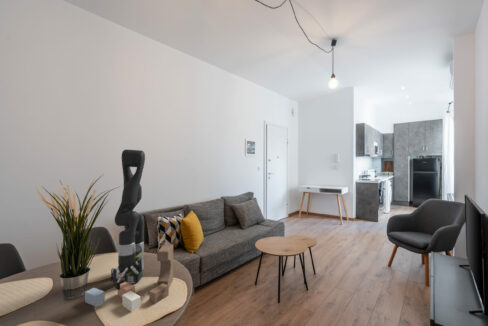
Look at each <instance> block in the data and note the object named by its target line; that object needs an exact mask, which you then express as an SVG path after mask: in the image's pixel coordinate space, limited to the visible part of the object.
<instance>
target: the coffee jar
mask: <svg viewBox="0 0 488 326" xmlns="http://www.w3.org/2000/svg"><path fill="white" fill-rule="evenodd" d="M135 248H136V250H135V261H136V260H137V259H139V260H141V264H142V247H141V246H140V245H135ZM134 268H135V269H136V270H137V264H136V265H135V266H134ZM133 274H134V273H133V272H132V271H131V272H130V273H127V274H124V282H127V283H129V284H131V285H133V284H137V283H139V281H141V279H142V278H143V271H141V272H139V273H138V280H137V282H134V281H133Z"/></svg>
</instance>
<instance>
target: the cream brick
mask: <svg viewBox="0 0 488 326" xmlns="http://www.w3.org/2000/svg"><path fill="white" fill-rule="evenodd" d="M121 299H122V303H121V304H122V305H123V306H122V305H121V306H122V307H124V308H125V309H126V310H128V311H130V312H131V313H133V312H135V311H137V310H138V309H140V308H141V305H142V303H141V296H140V295H139V294H137V293H136V292H135V293H134V292H132V291H130V292H127V293H125V294H123V295H122V297H121Z"/></svg>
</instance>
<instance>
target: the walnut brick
mask: <svg viewBox="0 0 488 326" xmlns="http://www.w3.org/2000/svg"><path fill="white" fill-rule="evenodd" d="M169 288H170V287H169V285H166V284H164V283H163V284H161V285H159V286H157V285H156V287H154V288H152V289H151V290H149V293H148V297H149V301H148V302H150V303H152V304H154V305H156V304H158V303H159V302H160V301H162V300H164V299H165V298H167V297H168V296H169V295H170V294H169V291H170V289H169Z"/></svg>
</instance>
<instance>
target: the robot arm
mask: <svg viewBox="0 0 488 326" xmlns="http://www.w3.org/2000/svg"><path fill="white" fill-rule="evenodd" d="M145 160H146V154H145V152H144V150H141V149H124V150H123V151H121V167H122V176H123V178H122V179H123V189H122V195H121V199H120V200H121V201H120V205H119V206H118V209H117V211H116V214H115V216H114V223H115V225H116V227H117V226H118V227H124V230H121V231H120V232H119V234H118V249H117V250H118V251H117V260H118V261H117V263H118V266H117V267H115V268H114V267H112V268H111V270H110V282H112V283H113V284H114V289H116V290H117V291H118V290H120V284H121V279H123V277H125V274H127V273H130V272H131V271H132V272H133V273H134V274H133V281H134V282H137V280H138V273H139V272H141V271H142V272H143V271H144V268H145V237H144V236H145V216H144V215H143V214H139V213H138V211H135V210H134V209H135V208H136V207H137V205H138V204H139V203H140V202H141V200H142V196H143V194H142V192H143V190H142V189H143V188H142V185H141V179H142V175H143V171H144V168H145ZM131 168H136V169H135V172H134V174H133V172H132V170H131ZM135 245H140V246H141V247H142V264H141V260H139V259H137V260H136V261H135V250H136V248H135ZM136 264H137V270H136V269H135V268H134V266H135V265H136ZM137 283H138V282H137Z"/></svg>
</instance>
